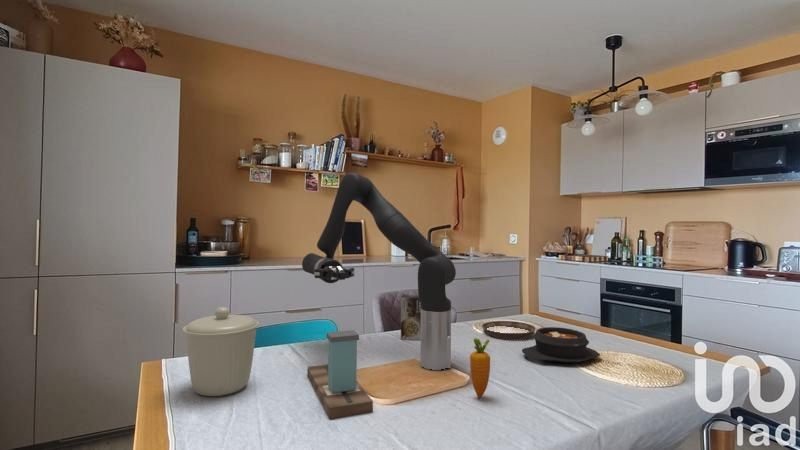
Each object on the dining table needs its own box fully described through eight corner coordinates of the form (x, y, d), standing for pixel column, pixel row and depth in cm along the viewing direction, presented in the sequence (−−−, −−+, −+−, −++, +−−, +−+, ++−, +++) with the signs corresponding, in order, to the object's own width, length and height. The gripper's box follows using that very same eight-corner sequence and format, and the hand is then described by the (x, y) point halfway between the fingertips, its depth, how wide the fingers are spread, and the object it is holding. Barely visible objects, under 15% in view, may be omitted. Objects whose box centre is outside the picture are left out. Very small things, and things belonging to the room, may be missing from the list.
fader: (326, 386, 100) (326, 332, 100) (353, 382, 103) (353, 330, 103) (330, 393, 96) (331, 337, 96) (358, 389, 98) (359, 334, 98)
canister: (181, 409, 93) (182, 317, 94) (182, 382, 109) (183, 303, 110) (263, 395, 102) (264, 310, 102) (253, 372, 118) (254, 299, 118)
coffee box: (425, 336, 159) (425, 294, 159) (424, 340, 152) (424, 297, 152) (401, 335, 159) (402, 293, 160) (400, 339, 153) (400, 296, 153)
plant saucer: (482, 340, 154) (482, 331, 154) (481, 327, 175) (481, 319, 175) (539, 343, 151) (539, 334, 151) (531, 329, 171) (531, 321, 171)
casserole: (541, 370, 122) (541, 342, 122) (511, 351, 140) (511, 327, 140) (614, 365, 127) (614, 338, 127) (576, 347, 145) (576, 324, 145)
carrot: (491, 395, 103) (491, 335, 103) (488, 403, 98) (489, 341, 98) (471, 392, 105) (471, 334, 105) (468, 400, 100) (468, 338, 100)
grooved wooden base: (307, 375, 115) (307, 366, 115) (342, 371, 119) (342, 362, 119) (329, 419, 89) (329, 407, 89) (372, 412, 93) (372, 400, 93)
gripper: (307, 258, 129) (319, 263, 113) (348, 257, 134) (365, 262, 119) (307, 282, 129) (319, 290, 113) (347, 280, 134) (364, 288, 119)
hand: (342, 276), depth 116 cm, fingers closed
